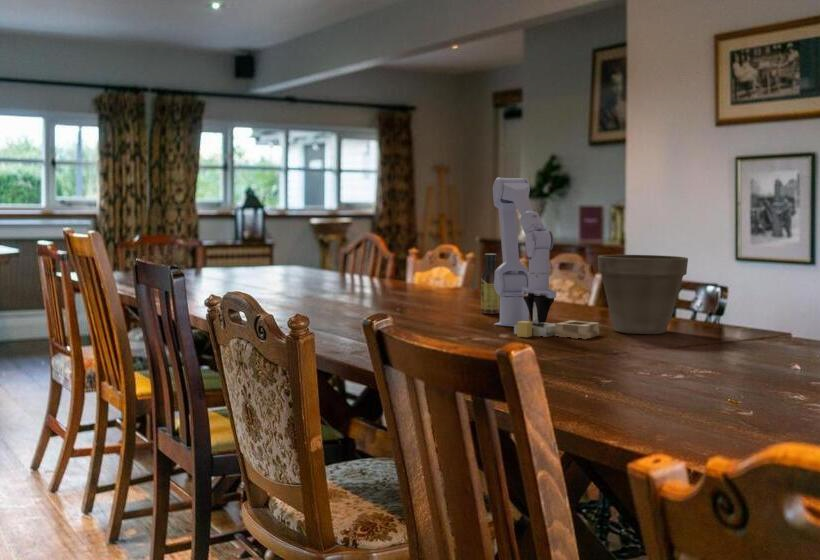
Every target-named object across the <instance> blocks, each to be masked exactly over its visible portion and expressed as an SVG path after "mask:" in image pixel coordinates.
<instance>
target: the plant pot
mask: <svg viewBox="0 0 820 560" xmlns="http://www.w3.org/2000/svg"><path fill="white" fill-rule="evenodd" d="M688 261H689V258H688V257H685V256H678V255H677V256H676V255H661V254H660V255H657V254H654V255H653V254H603V255H598V256H597V268H598V269H597V270H598V274H601V279H602V283H603V287H604V292H605V296H606V301H607V306H608V309H609V314H610V320H611V324H612V327H613V330H614V331H615V332H619V333H625V334H631V335H632V334H633V335H635V334H636V335H659V334H665V333H666V332H667V330H668V327H669V324H670V321H671V319H672V315H673V312H674V309H675V306H676V303H677V302H676V301H677V299H678V295H679V292H680V289H681V286H682V282H683V277H684V276H686V275H687V272H688V271H687V270H688V264H689V263H688Z"/></svg>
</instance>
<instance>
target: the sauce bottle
mask: <svg viewBox="0 0 820 560" xmlns="http://www.w3.org/2000/svg"><path fill="white" fill-rule="evenodd" d="M483 257H484V258H483V259H484V268H483V272H482V274H481V277H480V308H481V313H482V314H483V315H484V314H485V315H496V314H500V295H498V294H497V293H496V291H495V289H494V278H495V270H496V269H497V268H498V267H497V258H498V254H497V253H484V256H483Z"/></svg>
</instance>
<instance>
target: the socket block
mask: <svg viewBox="0 0 820 560" xmlns="http://www.w3.org/2000/svg"><path fill="white" fill-rule="evenodd" d="M531 322H532V336H531V337H540V336H543V337H542V338H548V337H552V336H555V324H556V323H554V322H553V323H552V322H551V323H550V322H544V326H535V325H533V321H531ZM513 335H517V325H514V326H513Z"/></svg>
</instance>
